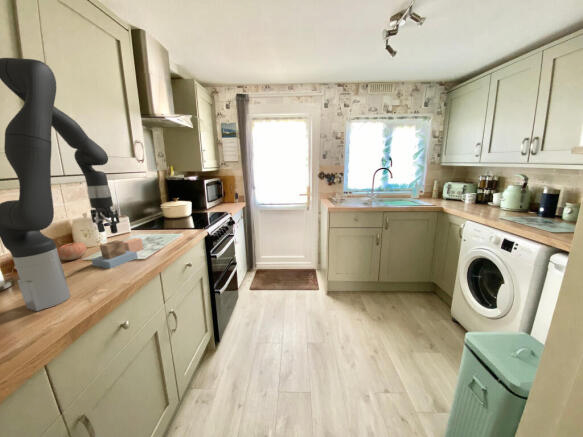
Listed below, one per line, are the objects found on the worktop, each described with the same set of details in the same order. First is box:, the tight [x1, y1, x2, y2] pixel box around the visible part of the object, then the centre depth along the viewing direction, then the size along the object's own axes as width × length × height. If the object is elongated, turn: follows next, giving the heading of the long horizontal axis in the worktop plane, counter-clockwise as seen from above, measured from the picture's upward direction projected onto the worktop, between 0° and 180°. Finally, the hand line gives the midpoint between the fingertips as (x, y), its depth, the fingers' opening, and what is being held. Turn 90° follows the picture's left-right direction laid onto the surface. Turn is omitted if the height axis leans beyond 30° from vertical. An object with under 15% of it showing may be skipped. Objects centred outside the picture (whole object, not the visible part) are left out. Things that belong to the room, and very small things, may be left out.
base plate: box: [91, 251, 138, 270], centre depth 105 cm, size 12×12×3 cm
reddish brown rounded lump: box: [57, 242, 87, 261], centre depth 111 cm, size 11×11×8 cm
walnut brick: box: [99, 239, 126, 259], centre depth 104 cm, size 7×5×6 cm
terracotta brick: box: [123, 237, 144, 253], centre depth 118 cm, size 7×5×6 cm
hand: (108, 232), depth 102 cm, fingers open, 8 cm apart
